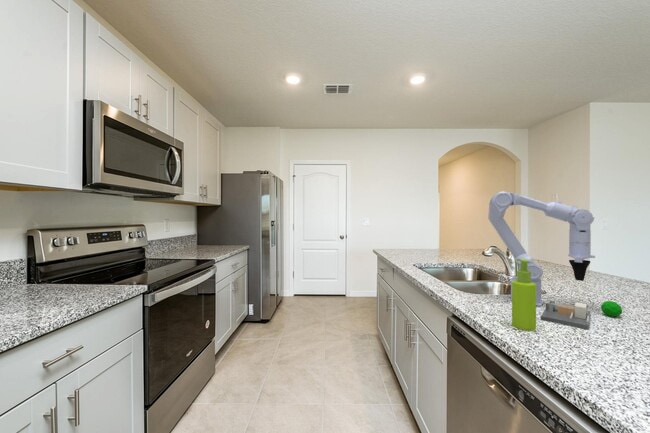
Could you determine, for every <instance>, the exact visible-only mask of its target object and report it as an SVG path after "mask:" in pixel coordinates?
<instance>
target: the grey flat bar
mask: <svg viewBox="0 0 650 433" xmlns="http://www.w3.org/2000/svg"><path fill="white" fill-rule="evenodd" d="M551 304H553V307H555V308H558V306H561V307H567V308H573V309H574V311H575V307H574V306H575V305H574V306H569V305H570V304H568V305H563V304H564V303H562V304H559V303H558V302H555V303H551ZM587 310H588V311H589V309H588V308H586V314H587Z"/></svg>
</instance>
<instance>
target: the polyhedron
mask: <svg viewBox="0 0 650 433" xmlns="http://www.w3.org/2000/svg"><path fill="white" fill-rule="evenodd" d="M600 308H601V309H600V310H601V312H602V313H603V314H604V315H606V316H608V317H610V318H616V317H620V316H621V315H622V313H623V309H622V306H621V305H620V304H619V303H617V302H616V301H612V300H607V301H604V302H603V303H601V305H600Z"/></svg>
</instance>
